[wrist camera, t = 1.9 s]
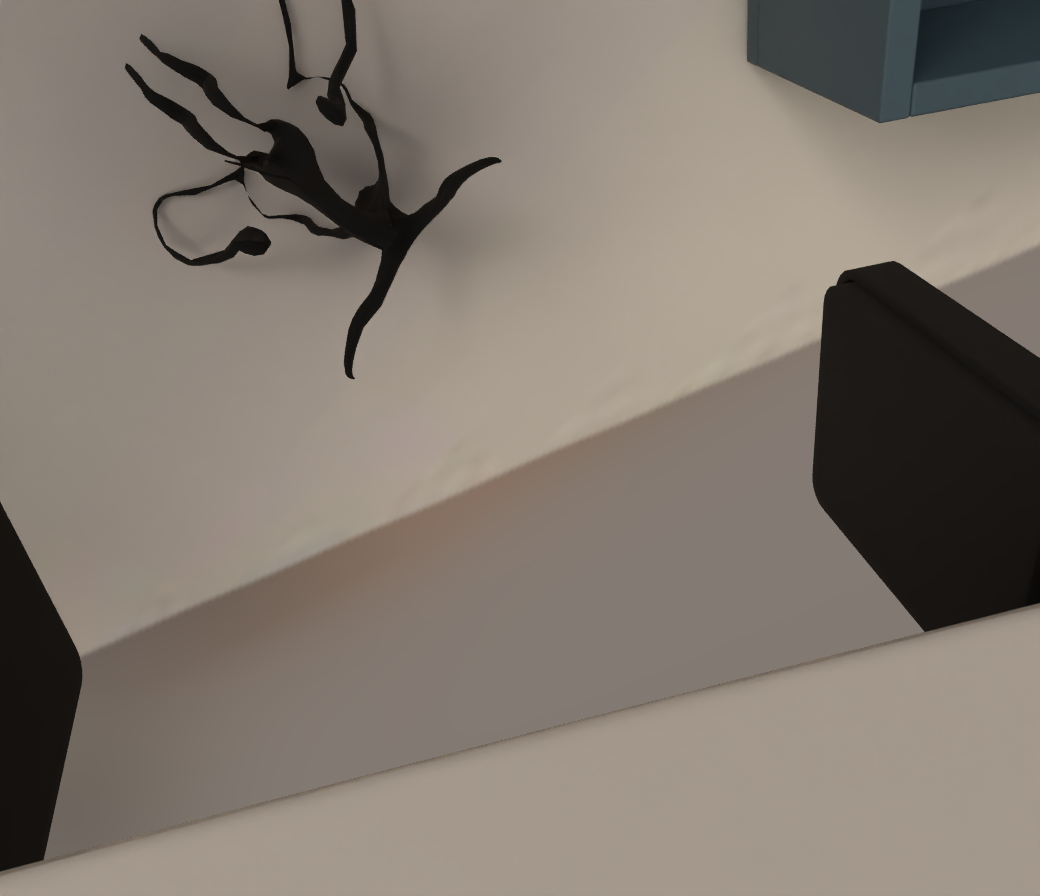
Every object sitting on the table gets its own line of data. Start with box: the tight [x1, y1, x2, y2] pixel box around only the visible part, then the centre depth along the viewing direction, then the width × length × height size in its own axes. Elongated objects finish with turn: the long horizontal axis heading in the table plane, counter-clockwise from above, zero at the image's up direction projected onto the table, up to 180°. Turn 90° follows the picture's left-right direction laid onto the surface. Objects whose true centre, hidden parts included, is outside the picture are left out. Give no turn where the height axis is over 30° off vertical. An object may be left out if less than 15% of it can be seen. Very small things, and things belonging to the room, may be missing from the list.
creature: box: [125, 0, 502, 379], centre depth 22 cm, size 8×5×8 cm
